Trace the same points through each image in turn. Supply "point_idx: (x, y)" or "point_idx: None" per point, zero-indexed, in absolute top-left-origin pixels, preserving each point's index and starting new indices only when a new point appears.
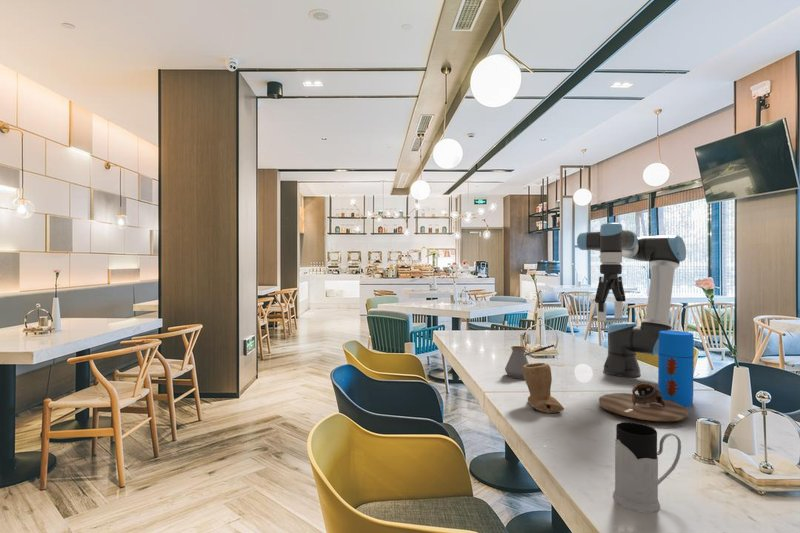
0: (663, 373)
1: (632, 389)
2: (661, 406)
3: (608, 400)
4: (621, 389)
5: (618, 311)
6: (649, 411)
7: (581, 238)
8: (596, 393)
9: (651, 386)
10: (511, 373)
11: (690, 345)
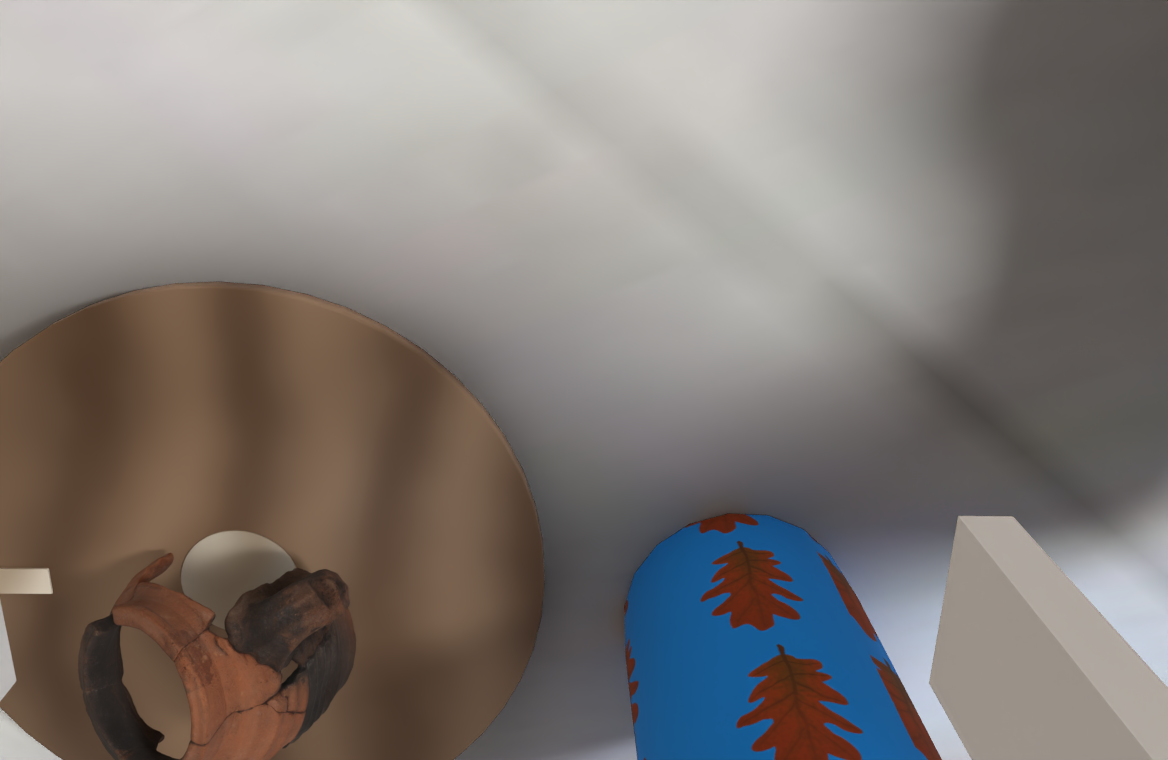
0: (656, 718)
1: (133, 608)
2: None
3: (108, 384)
4: (782, 205)
5: (1019, 739)
6: (125, 669)
7: None
8: (452, 105)
9: (185, 752)
10: None
11: None
